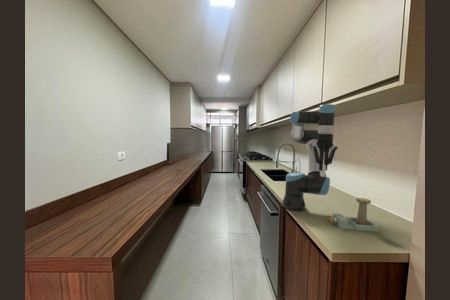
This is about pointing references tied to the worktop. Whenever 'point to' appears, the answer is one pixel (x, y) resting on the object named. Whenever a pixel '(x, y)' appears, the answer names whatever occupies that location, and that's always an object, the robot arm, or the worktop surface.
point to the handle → (362, 210)
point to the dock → (353, 223)
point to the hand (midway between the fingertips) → (322, 176)
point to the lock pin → (333, 220)
